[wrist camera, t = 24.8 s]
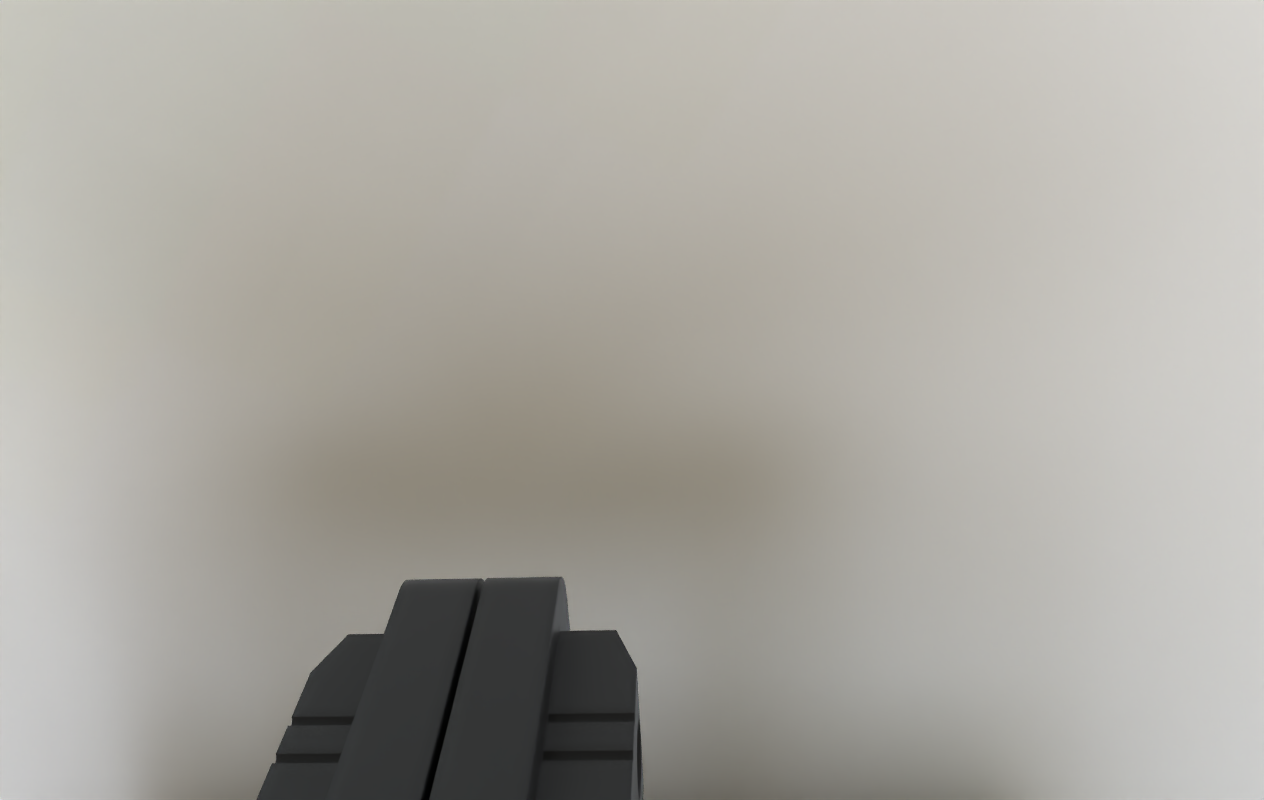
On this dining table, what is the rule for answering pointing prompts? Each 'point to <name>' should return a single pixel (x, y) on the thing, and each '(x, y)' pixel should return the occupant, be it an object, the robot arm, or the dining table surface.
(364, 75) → the dining table surface
